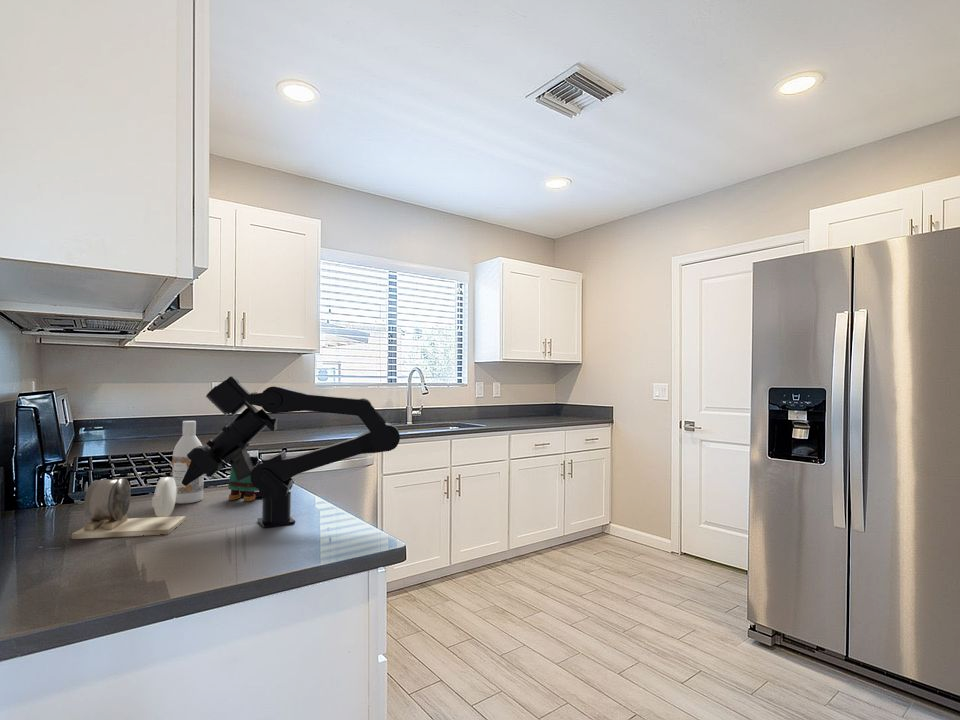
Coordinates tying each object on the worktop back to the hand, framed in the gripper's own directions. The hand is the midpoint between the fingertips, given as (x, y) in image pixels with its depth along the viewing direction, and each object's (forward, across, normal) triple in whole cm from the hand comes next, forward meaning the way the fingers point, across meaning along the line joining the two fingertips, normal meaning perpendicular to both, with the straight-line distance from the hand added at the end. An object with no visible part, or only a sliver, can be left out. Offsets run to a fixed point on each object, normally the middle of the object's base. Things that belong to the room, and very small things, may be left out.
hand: (183, 484), depth 111 cm
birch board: (+13, 0, 0) cm, 13 cm away
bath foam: (+11, +24, -2) cm, 27 cm away
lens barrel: (+15, 0, +5) cm, 16 cm away
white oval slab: (+7, 0, -2) cm, 7 cm away
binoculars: (+1, +26, -12) cm, 29 cm away
